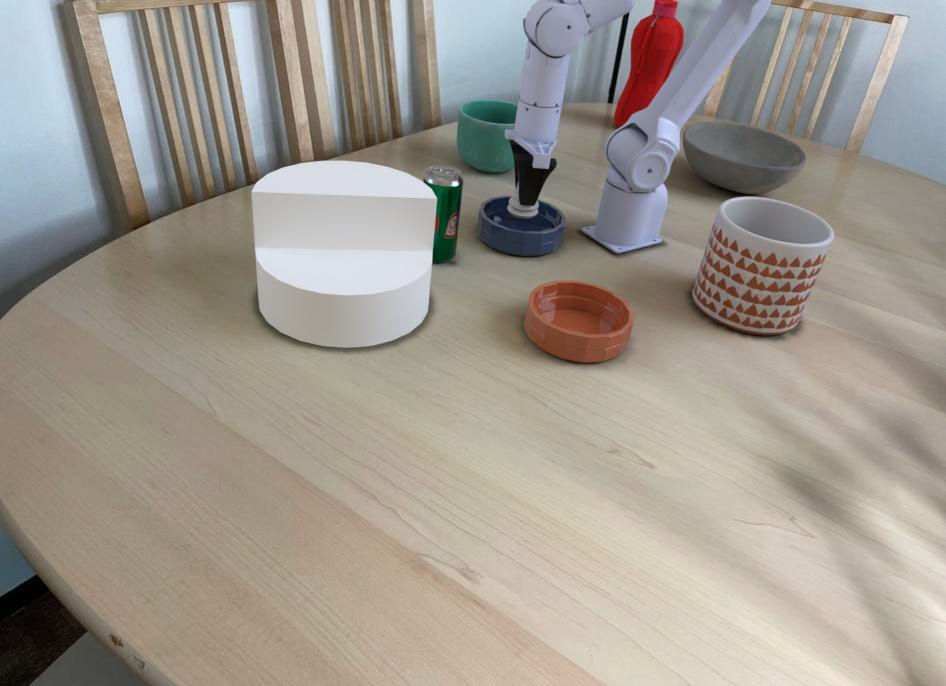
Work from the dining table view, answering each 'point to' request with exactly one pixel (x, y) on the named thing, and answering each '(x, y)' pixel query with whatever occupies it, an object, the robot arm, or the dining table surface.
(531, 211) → the rook chess piece
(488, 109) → the mug
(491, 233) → the slate bowl
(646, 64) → the water bottle
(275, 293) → the stepped white cylinder
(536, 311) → the terracotta bowl
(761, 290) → the planter
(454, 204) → the soda can
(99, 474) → the dining table surface
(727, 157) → the bowl
